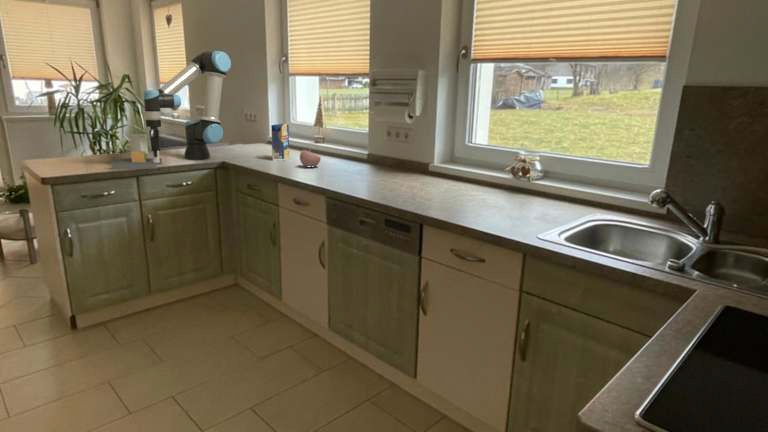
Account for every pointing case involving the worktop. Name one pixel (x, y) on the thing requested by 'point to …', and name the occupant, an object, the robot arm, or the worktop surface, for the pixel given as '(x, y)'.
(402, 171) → the worktop surface
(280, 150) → the beverage box
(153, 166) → the channel
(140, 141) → the skincare box
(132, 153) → the orange block
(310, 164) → the reddish-brown rounded lump
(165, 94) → the robot arm
